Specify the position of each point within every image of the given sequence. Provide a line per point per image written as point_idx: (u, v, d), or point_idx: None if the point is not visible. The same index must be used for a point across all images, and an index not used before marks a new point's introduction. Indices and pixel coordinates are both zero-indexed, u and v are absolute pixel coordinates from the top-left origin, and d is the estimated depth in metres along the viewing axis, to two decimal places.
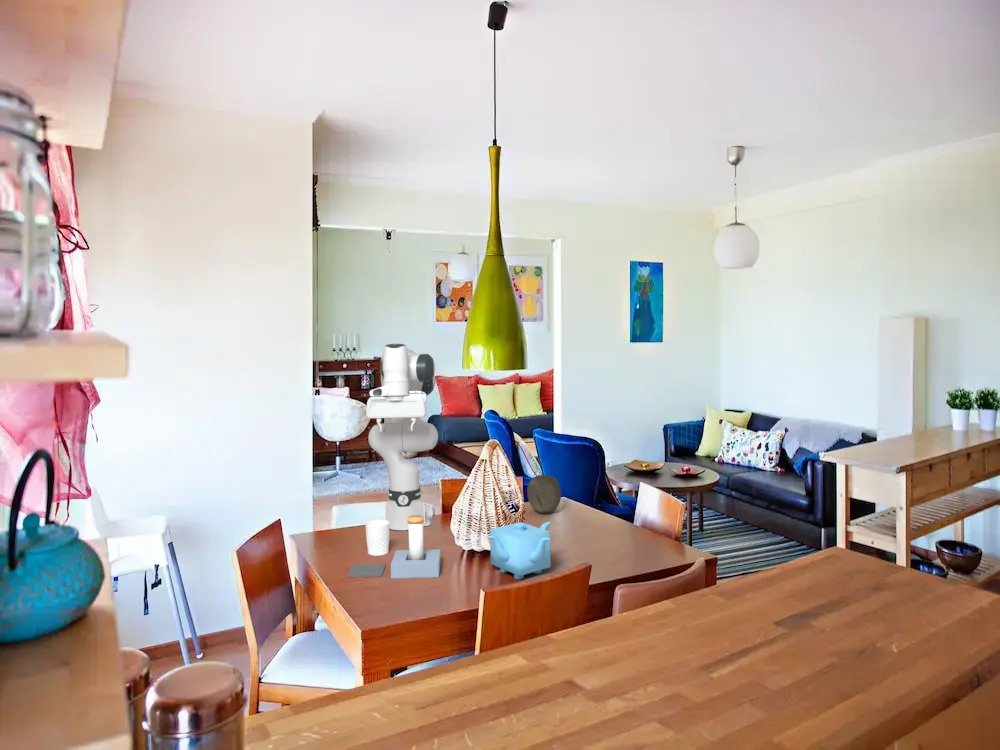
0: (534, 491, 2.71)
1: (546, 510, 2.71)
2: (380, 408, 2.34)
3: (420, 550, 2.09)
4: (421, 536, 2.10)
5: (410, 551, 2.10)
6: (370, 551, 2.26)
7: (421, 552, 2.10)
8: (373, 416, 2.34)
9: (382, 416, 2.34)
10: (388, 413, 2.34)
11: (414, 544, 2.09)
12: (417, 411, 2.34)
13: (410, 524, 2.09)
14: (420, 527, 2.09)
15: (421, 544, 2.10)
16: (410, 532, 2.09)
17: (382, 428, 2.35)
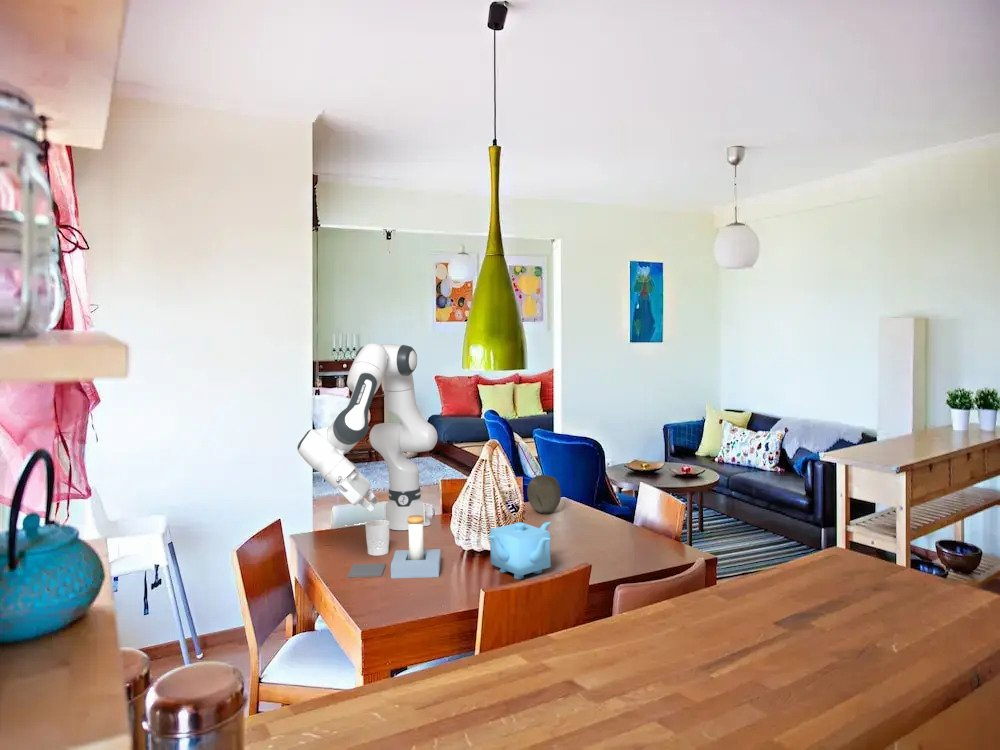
0: (534, 491, 2.71)
1: (546, 510, 2.71)
2: None
3: (420, 550, 2.09)
4: (421, 536, 2.10)
5: (410, 551, 2.10)
6: (370, 551, 2.26)
7: (421, 552, 2.10)
8: None
9: None
10: None
11: (414, 544, 2.09)
12: None
13: (410, 524, 2.09)
14: (420, 527, 2.09)
15: (421, 544, 2.10)
16: (410, 532, 2.09)
17: None
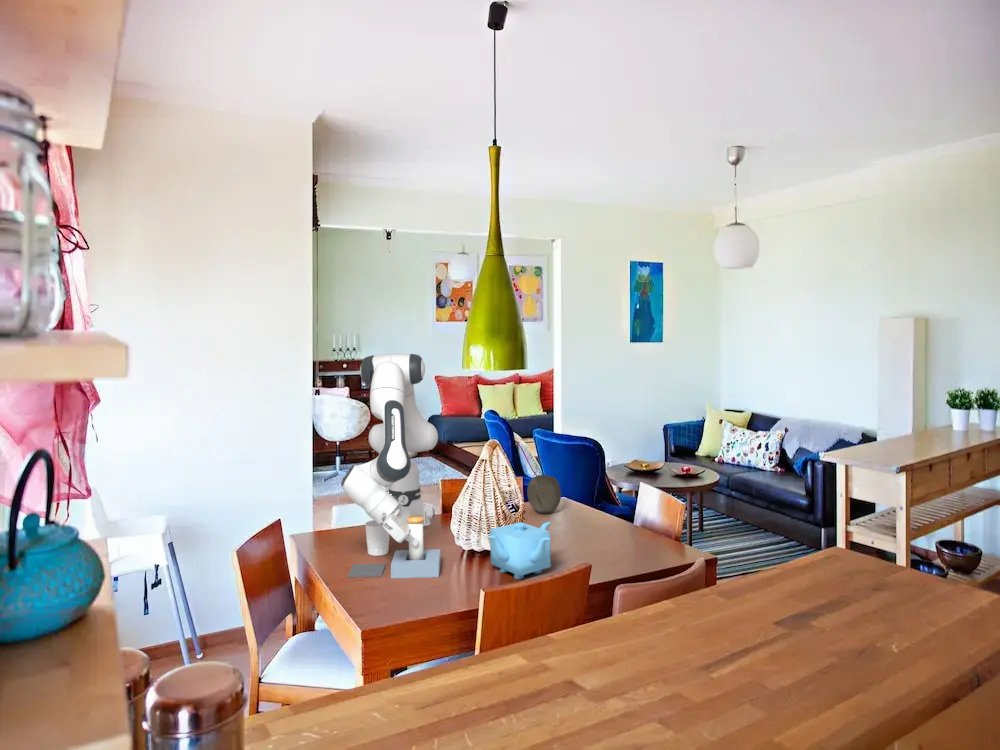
0: (534, 491, 2.71)
1: (546, 510, 2.71)
2: None
3: (420, 550, 2.09)
4: (421, 536, 2.10)
5: (410, 551, 2.10)
6: (370, 551, 2.26)
7: (421, 552, 2.10)
8: None
9: None
10: None
11: None
12: None
13: (410, 524, 2.09)
14: (420, 527, 2.09)
15: (421, 544, 2.10)
16: (410, 532, 2.09)
17: None
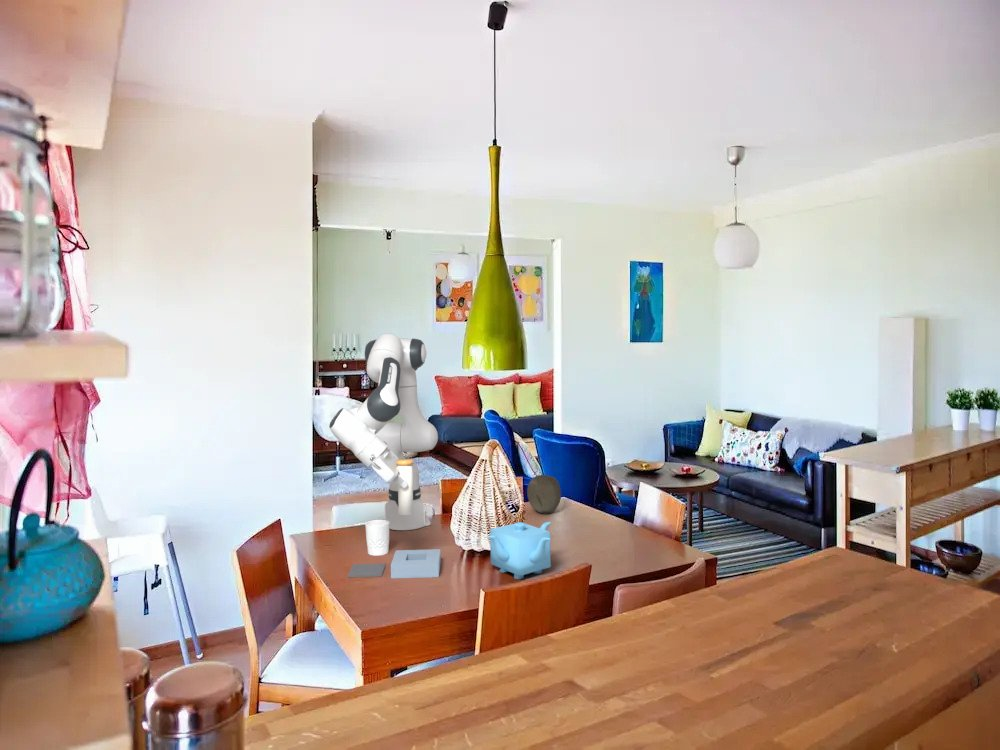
0: (534, 491, 2.71)
1: (546, 510, 2.71)
2: None
3: (410, 492, 2.08)
4: (410, 478, 2.08)
5: (399, 494, 2.08)
6: (370, 551, 2.26)
7: (410, 495, 2.09)
8: None
9: None
10: None
11: None
12: None
13: (399, 466, 2.08)
14: (409, 470, 2.08)
15: (411, 487, 2.09)
16: (399, 474, 2.08)
17: None
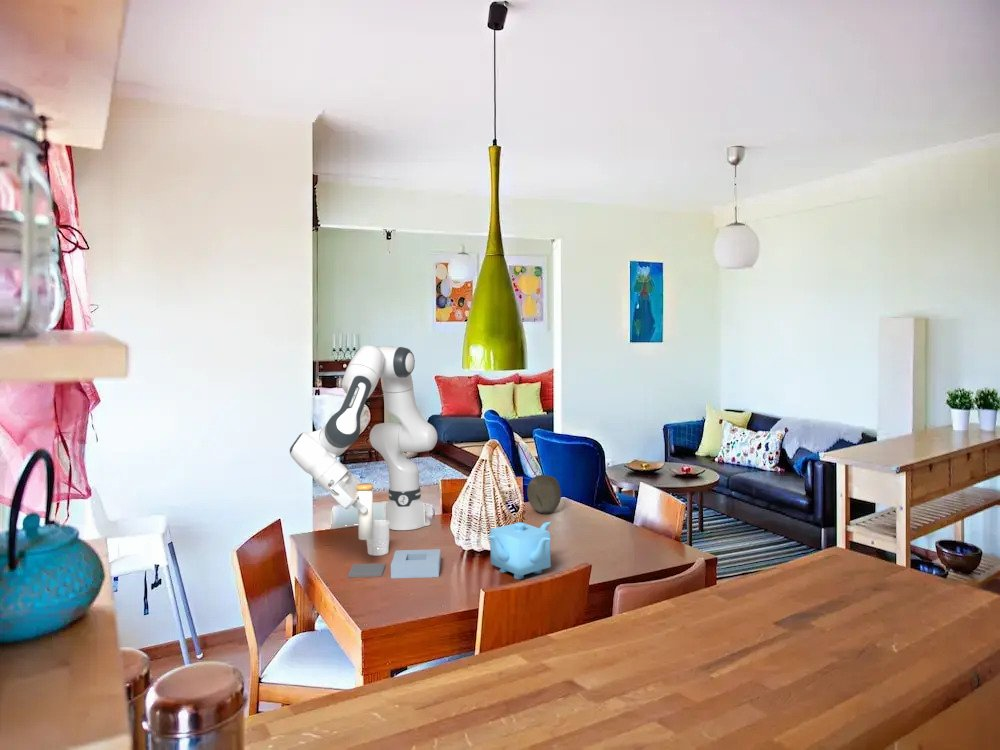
0: (534, 491, 2.71)
1: (546, 510, 2.71)
2: None
3: (369, 518, 2.08)
4: (370, 504, 2.08)
5: (359, 519, 2.08)
6: (370, 551, 2.26)
7: (370, 520, 2.08)
8: None
9: None
10: None
11: None
12: None
13: (359, 491, 2.08)
14: (369, 495, 2.08)
15: (370, 512, 2.08)
16: (359, 499, 2.08)
17: None
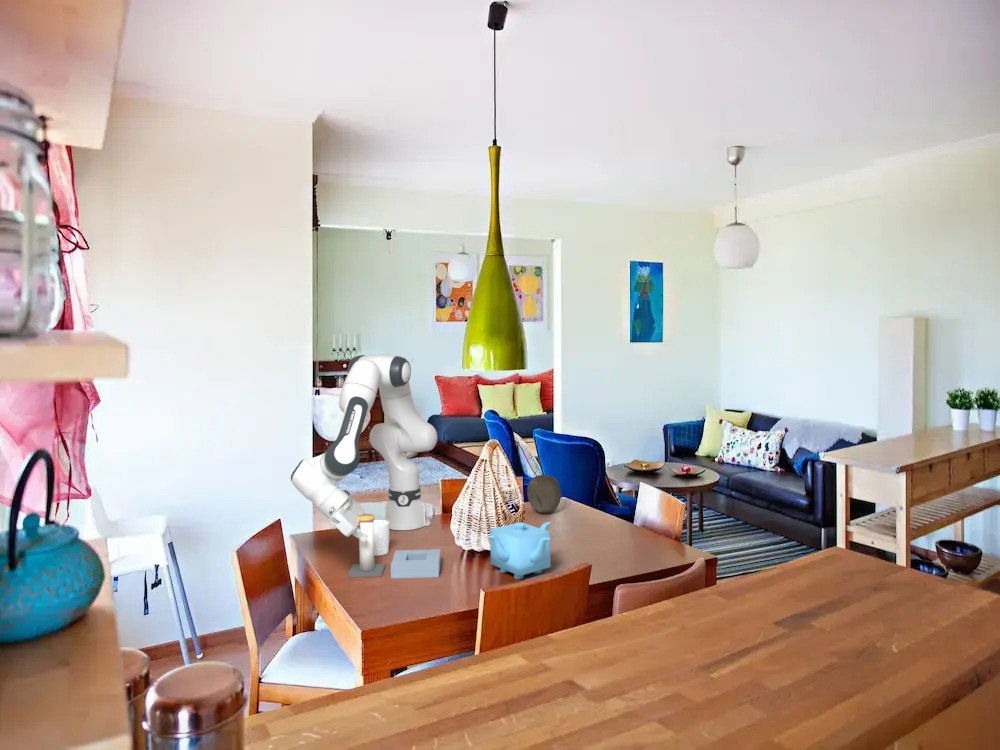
0: (534, 491, 2.71)
1: (546, 510, 2.71)
2: None
3: (370, 549, 2.09)
4: (371, 535, 2.09)
5: (360, 550, 2.09)
6: None
7: (371, 551, 2.09)
8: None
9: None
10: None
11: (364, 542, 2.08)
12: None
13: (360, 523, 2.09)
14: (370, 526, 2.09)
15: (372, 543, 2.09)
16: None
17: None
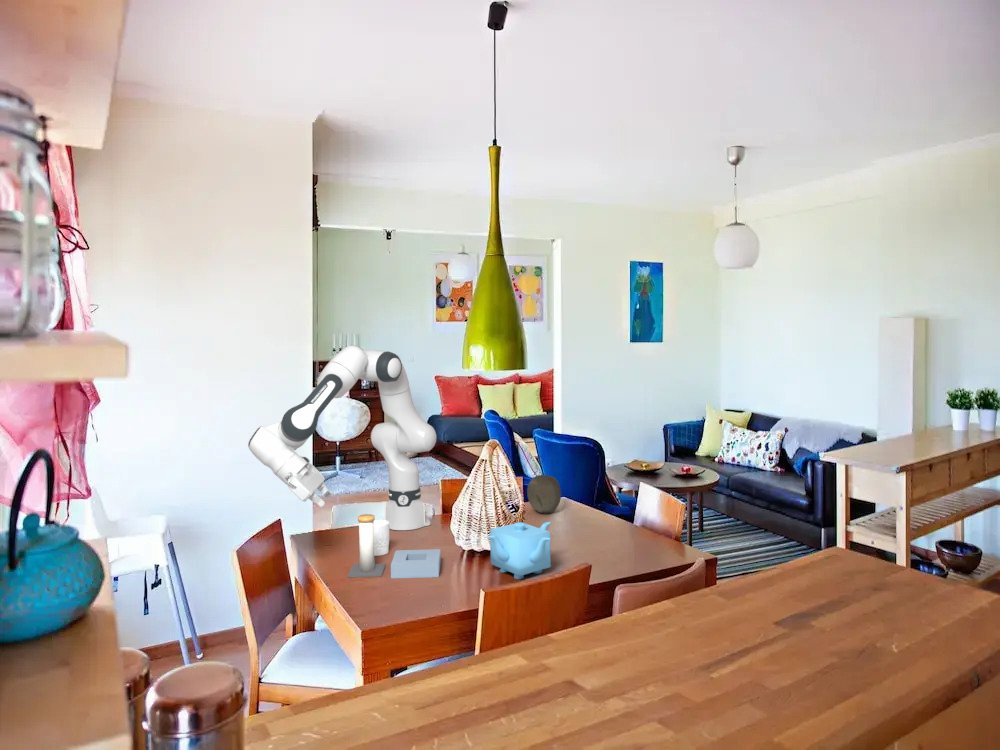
0: (534, 491, 2.71)
1: (546, 510, 2.71)
2: None
3: (370, 549, 2.09)
4: (371, 535, 2.09)
5: (360, 550, 2.09)
6: None
7: (371, 551, 2.09)
8: None
9: None
10: None
11: (364, 543, 2.08)
12: None
13: (360, 523, 2.08)
14: (371, 526, 2.09)
15: (372, 543, 2.09)
16: (360, 531, 2.09)
17: None
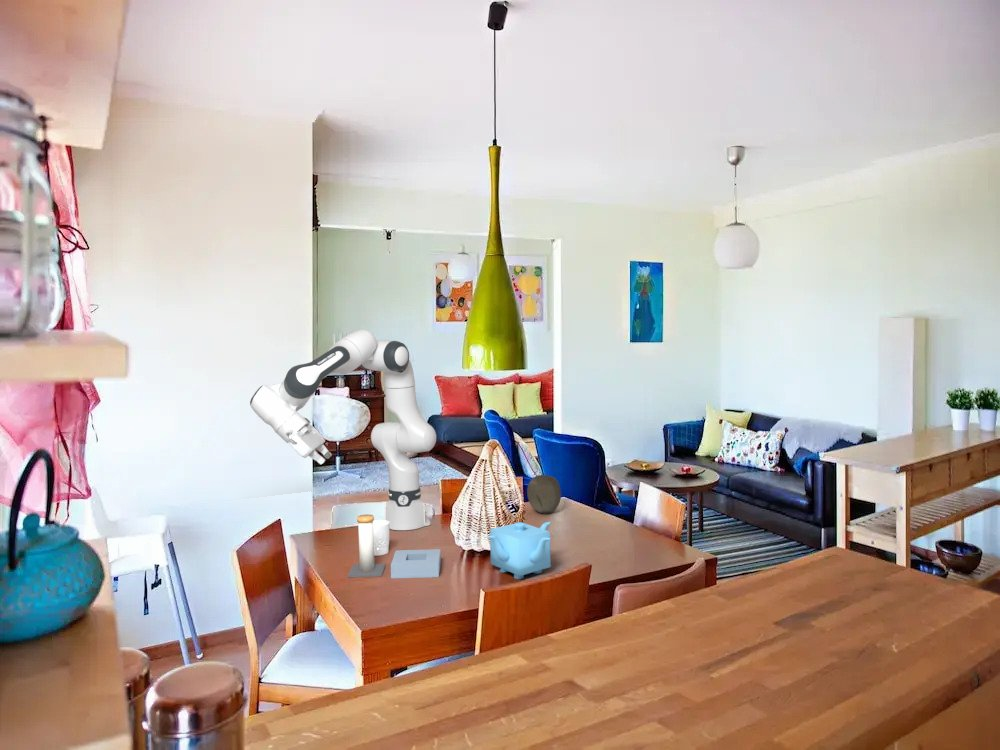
0: (534, 491, 2.71)
1: (546, 510, 2.71)
2: None
3: (370, 549, 2.09)
4: (371, 535, 2.09)
5: (360, 550, 2.09)
6: None
7: (371, 551, 2.09)
8: None
9: None
10: None
11: (364, 543, 2.08)
12: None
13: (360, 523, 2.08)
14: (370, 527, 2.09)
15: (371, 543, 2.09)
16: (360, 531, 2.08)
17: None
